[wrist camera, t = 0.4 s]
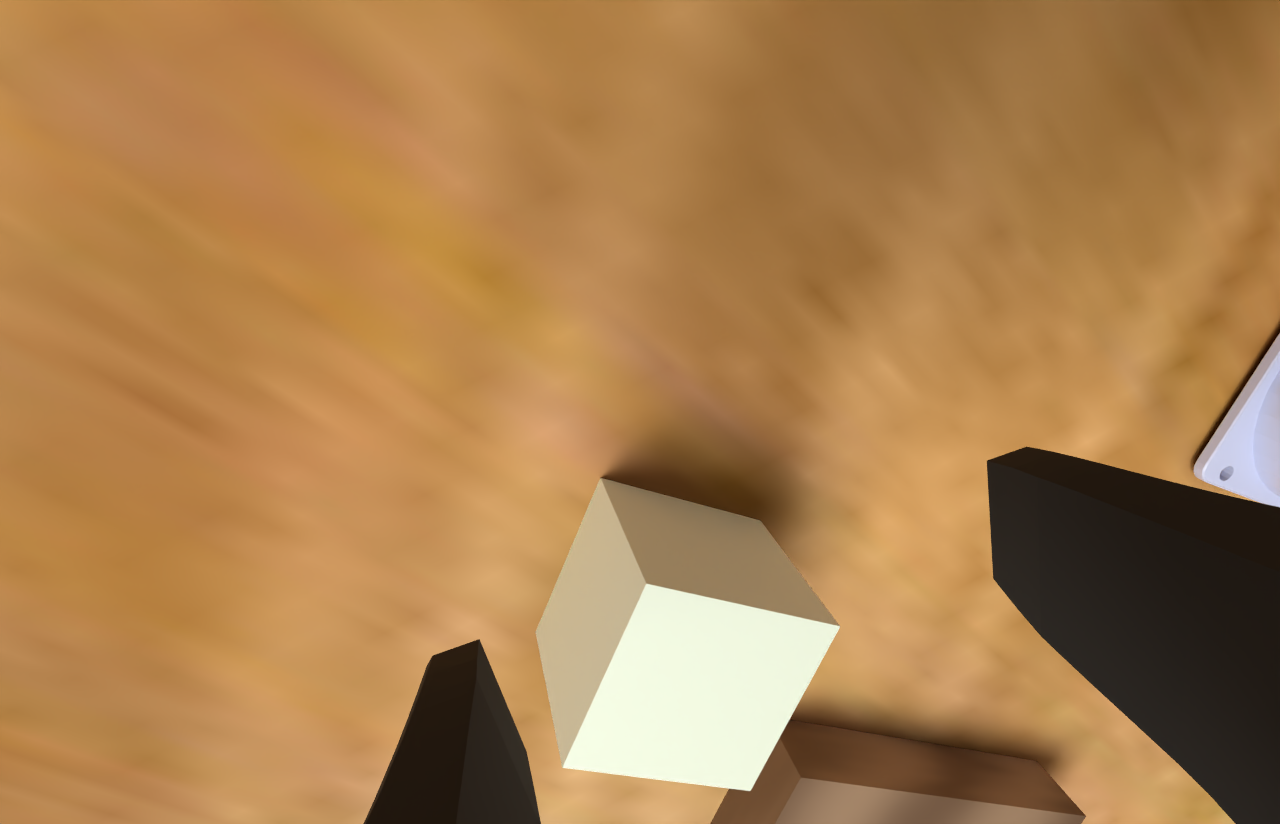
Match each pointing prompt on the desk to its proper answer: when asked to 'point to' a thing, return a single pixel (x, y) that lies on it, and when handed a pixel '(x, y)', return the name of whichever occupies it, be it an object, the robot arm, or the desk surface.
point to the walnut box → (892, 784)
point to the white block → (676, 641)
